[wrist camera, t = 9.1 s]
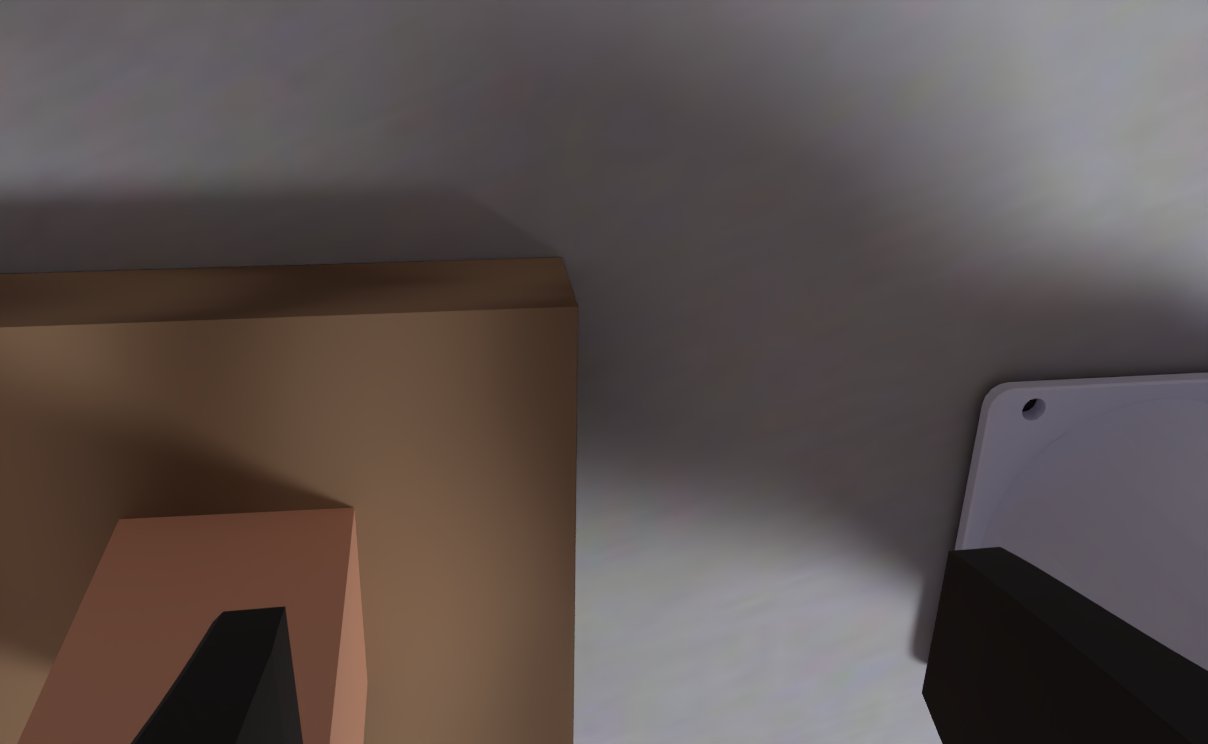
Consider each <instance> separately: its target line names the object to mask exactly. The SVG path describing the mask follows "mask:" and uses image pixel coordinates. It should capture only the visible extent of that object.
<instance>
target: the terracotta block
mask: <svg viewBox="0 0 1208 744" xmlns="http://www.w3.org/2000/svg"><path fill="white" fill-rule="evenodd" d="M283 606H285V608H286V616H287V624H288V631H289V639H290V647H291V654H292V662H293V670H294V677H295V685H296V693H297V700H298V708H299V716H300V723H301V731H302V739H303V744H363V742H364V727H365V712H366V698H367V683H368V682H367V669H366V655H365V642H364V628H363V615H362V602H361V588H360V575H359V562H358V548H357V535H356V522H355V508H336V509H316V510H296V511H275V512H255V513H235V514H215V515H195V516H175V517H154V518H134V519H119V521H118V523H117V525H116V527H115V529H114V532H113V534H112V536H111V538H110V540H109V543H108V545H107V547H106V549H105V551H104V554H103V556H102V558H101V560H100V562H99V565H98V567H97V569H96V571H95V573H94V576H93V578H92V580H91V582H90V584H89V587H88V589H87V591H86V593H85V595H84V598H83V600H82V602H81V604H80V607H79V609H78V611H77V613H76V615H75V618H74V620H73V622H72V624H71V626H70V629H69V631H68V633H67V635H66V637H65V640H64V642H63V644H62V646H61V648H60V651H59V653H58V655H57V657H56V659H55V662H54V664H53V666H52V668H51V670H50V673H49V675H48V677H47V679H46V681H45V684H44V686H43V688H42V690H41V692H40V695H39V697H38V699H37V701H36V704H35V706H34V708H33V710H32V712H31V715H30V717H29V719H28V721H27V723H26V726H25V728H24V730H23V732H22V734H21V737H20V739H19V741H18V743H17V744H131V742H132V741H133V739H134V738H135V737H136V735H137V734H138V733H139V731H140V730H141V729H142V727H143V726H144V724H145V723H146V722H147V720H148V719H149V718H150V716H151V715H152V714H153V712H154V711H155V709H156V708H157V707H158V705H159V704H160V702H161V701H162V699H163V698H164V696H165V695H166V693H167V692H168V690H169V689H170V688H171V686H172V685H173V683H174V682H175V680H176V679H177V677H178V676H179V674H180V673H181V671H182V670H183V668H184V667H185V665H186V664H187V662H188V661H189V659H190V657H191V656H192V654H193V653H194V651H195V650H196V648H197V646H198V645H199V643H200V642H201V640H202V639H203V637H204V635H205V634H206V632H207V630H208V629H209V627H210V626H211V624H212V622H213V621H214V620H215V619H216V618H217V617H218V616H219V615H220V614H221V613H222V612H223V611H235V610H247V609H259V608H271V607H283Z"/></svg>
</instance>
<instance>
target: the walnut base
mask: <svg viewBox="0 0 1208 744" xmlns="http://www.w3.org/2000/svg"><path fill="white" fill-rule="evenodd" d="M577 366H578V305H577V302H576V299H575V296H574V293H573V290H572V287H571V284H570V281H569V278H568V275H567V272H566V269H565V266H564V263H563V260H562V257H556V258H523V259H489V260H456V261H422V262H389V263H355V264H322V265H288V266H255V267H221V268H187V269H154V270H120V271H87V272H53V273H20V274H0V744H17V743H18V741H19V739H20V737H21V734H22V732H23V730H24V728H25V726H26V723H27V721H28V719H29V717H30V715H31V712H32V710H33V708H34V706H35V704H36V701H37V699H38V697H39V695H40V692H41V690H42V688H43V686H44V684H45V681H46V679H47V677H48V675H49V673H50V670H51V668H52V666H53V664H54V662H55V659H56V657H57V655H58V653H59V651H60V648H61V646H62V644H63V642H64V640H65V637H66V635H67V633H68V631H69V629H70V626H71V624H72V622H73V620H74V618H75V615H76V613H77V611H78V609H79V607H80V604H81V602H82V600H83V598H84V595H85V593H86V591H87V589H88V587H89V584H90V582H91V580H92V578H93V576H94V573H95V571H96V569H97V567H98V565H99V562H100V560H101V558H102V556H103V554H104V551H105V549H106V547H107V545H108V543H109V540H110V538H111V536H112V534H113V532H114V529H115V527H116V525H117V523H118V521H119V519H134V518H154V517H175V516H195V515H215V514H235V513H255V512H275V511H296V510H316V509H336V508H355V522H356V535H357V548H358V562H359V575H360V588H361V602H362V615H363V628H364V642H365V655H366V669H367V682H368V683H367V698H366V712H365V727H364V742H363V744H573V719H574V631H575V543H576V454H577Z"/></svg>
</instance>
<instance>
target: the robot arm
mask: <svg viewBox="0 0 1208 744" xmlns="http://www.w3.org/2000/svg"><path fill="white" fill-rule="evenodd" d="M1035 398H1036V399H1037V401H1036V403H1035V405H1034V406H1033V407H1032V408H1031V409H1030V410H1028V411H1025V412H1022V410H1023V407H1024V405H1025V404H1026V403H1027V402H1028V401H1030V400H1032V399H1035ZM922 694H923V697H924V699H925V702H926V704H927V707H928V709H929V712H930V714H931V717H932V719H933V721H934V724H935V726H936V729H937V731H938V734H939V736H940V739H941V741H942V743H943V744H1208V372H1207V373H1186V374H1166V375H1145V376H1125V377H1104V378H1084V379H1063V380H1043V381H1022V382H1007V383H1003V384H999V385H997V386H996V387H994V388H993V389H991V390H990V391H989V393H988V394H987V395H986V396H985V398H984V401H983V403H982V408H981V413H980V418H979V424H978V429H977V434H976V440H975V445H974V450H973V455H972V461H971V466H970V471H969V476H968V482H967V487H966V492H965V498H964V503H963V508H962V513H961V519H960V524H959V529H958V534H957V540H956V545H955V550H954V551H949V555H948V560H947V565H946V570H945V575H944V581H943V586H942V591H941V596H940V601H939V606H938V612H937V617H936V622H935V627H934V632H933V638H932V643H931V648H930V653H929V658H928V664H927V669H926V674H925V679H924V684H923V689H922ZM131 744H303V739H302V731H301V723H300V716H299V708H298V700H297V693H296V685H295V677H294V670H293V662H292V654H291V647H290V639H289V631H288V624H287V616H286V608H285V606H283V607H271V608H259V609H247V610H235V611H223V612H222V613H221V614H220V615H219V616H218V617H217V618H216V619H215V620H214V621H213V622H212V624H211V626H210V627H209V629H208V630H207V632H206V634H205V635H204V637H203V639H202V640H201V642H200V643H199V645H198V646H197V648H196V650H195V651H194V653H193V654H192V656H191V657H190V659H189V661H188V662H187V664H186V665H185V667H184V668H183V670H182V671H181V673H180V674H179V676H178V677H177V679H176V680H175V682H174V683H173V685H172V686H171V688H170V689H169V690H168V692H167V693H166V695H165V696H164V698H163V699H162V701H161V702H160V704H159V705H158V707H157V708H156V709H155V711H154V712H153V714H152V715H151V716H150V718H149V719H148V720H147V722H146V723H145V724H144V726H143V727H142V729H141V730H140V731H139V733H138V734H137V735H136V737H135V738H134V739H133V741H132V742H131Z"/></svg>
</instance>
